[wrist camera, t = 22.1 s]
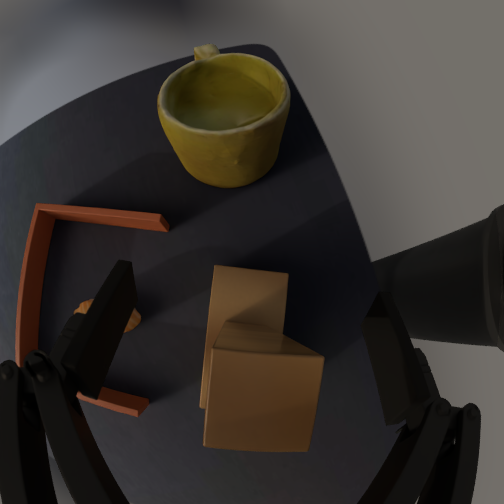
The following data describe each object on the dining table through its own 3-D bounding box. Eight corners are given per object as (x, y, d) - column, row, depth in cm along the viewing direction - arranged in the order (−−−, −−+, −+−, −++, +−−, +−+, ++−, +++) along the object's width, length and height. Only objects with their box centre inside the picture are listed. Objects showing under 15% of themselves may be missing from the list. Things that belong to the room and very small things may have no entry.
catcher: (169, 225, 23) (161, 213, 20) (149, 404, 20) (138, 417, 17) (53, 212, 22) (36, 202, 19) (34, 366, 19) (15, 371, 16)
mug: (312, 191, 22) (294, 93, 13) (194, 216, 24) (126, 146, 15) (288, 98, 26) (266, 18, 17) (197, 121, 29) (155, 54, 20)
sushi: (146, 332, 21) (134, 336, 18) (80, 329, 20) (62, 331, 17) (145, 299, 21) (132, 298, 18) (79, 299, 21) (61, 297, 18)
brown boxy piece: (217, 270, 22) (186, 196, 7) (280, 278, 22) (372, 222, 7) (204, 393, 20) (162, 523, 5) (266, 399, 20) (320, 529, 5)
